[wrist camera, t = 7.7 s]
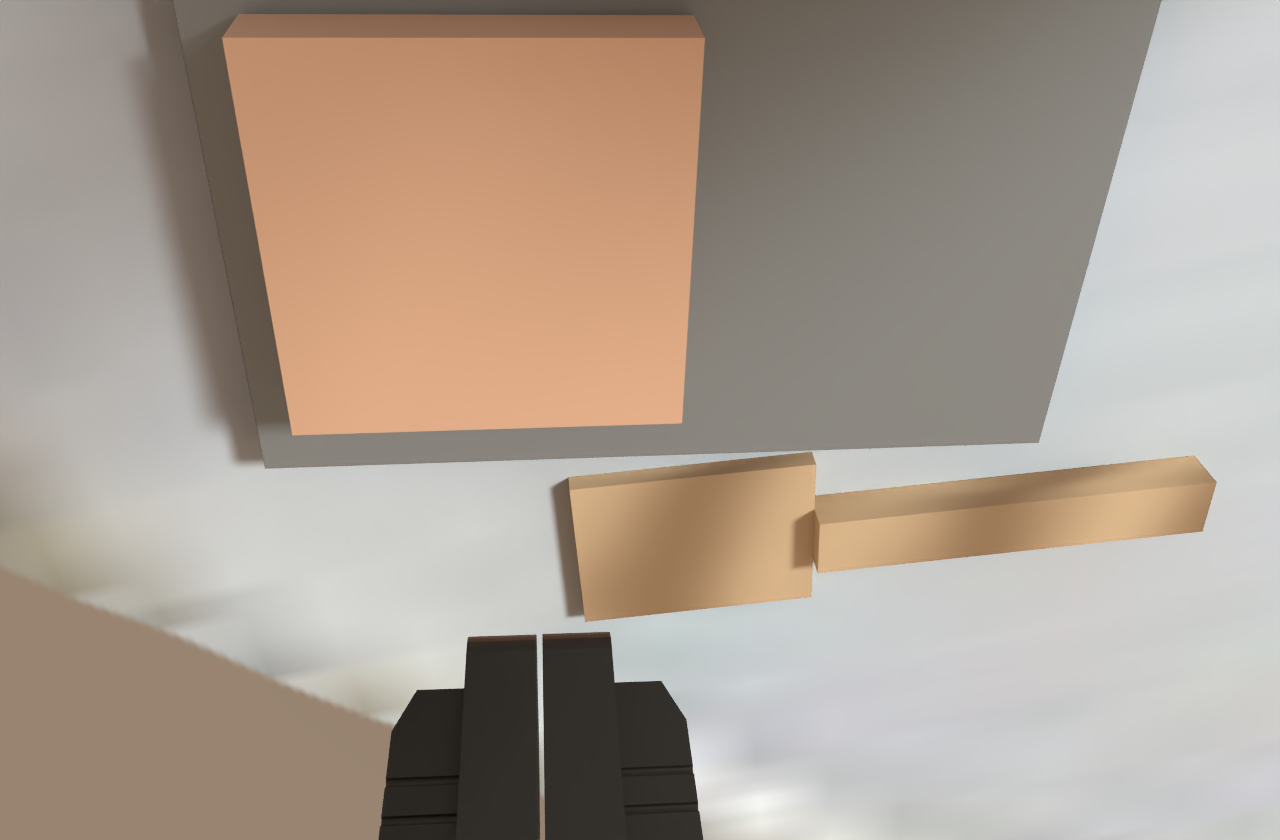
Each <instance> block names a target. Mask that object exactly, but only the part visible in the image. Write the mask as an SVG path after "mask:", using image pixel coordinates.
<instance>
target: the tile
mask: <svg viewBox="0 0 1280 840" xmlns="http://www.w3.org/2000/svg"><path fill="white" fill-rule="evenodd" d="M222 40H223V46H224V52H225V57H226V63H227V69H228V74H229V80H230V85H231V91H232V97H233V102H234V108H235V114H236V119H237V125H238V131H239V136H240V142H241V148H242V153H243V159H244V165H245V170H246V176H247V182H248V187H249V193H250V199H251V204H252V210H253V215H254V221H255V227H256V232H257V238H258V244H259V249H260V255H261V261H262V266H263V272H264V278H265V283H266V289H267V295H268V300H269V306H270V312H271V317H272V323H273V329H274V334H275V340H276V346H277V351H278V357H279V362H280V368H281V374H282V379H283V385H284V391H285V396H286V402H287V408H288V413H289V419H290V425H291V430H292V435H322V434H354V433H387V432H419V431H451V430H484V429H516V428H548V427H581V426H613V425H645V424H678V423H682V416H683V399H684V382H685V365H686V348H687V331H688V314H689V298H690V281H691V264H692V247H693V230H694V213H695V196H696V180H697V163H698V146H699V129H700V112H701V95H702V78H703V61H704V45H705V37H704V35H703V33H702V31H701V29H700V27H699V25H698V22H697V20H696V18H695V16H694V15H428V14H238V15H237V17H236V18H235V20H234V21H233V23H232V24H231V26H230V27H229V28H228V30H227V31H226V33H225V34H224V36H223V37H222Z"/></svg>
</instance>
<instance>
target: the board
mask: <svg viewBox="0 0 1280 840" xmlns="http://www.w3.org/2000/svg"><path fill="white" fill-rule="evenodd" d="M1160 3H1161V0H173V5H174V10H175V15H176V20H177V25H178V30H179V35H180V40H181V45H182V50H183V55H184V60H185V65H186V70H187V75H188V81H189V86H190V91H191V96H192V101H193V106H194V111H195V116H196V121H197V126H198V131H199V136H200V141H201V146H202V151H203V156H204V162H205V167H206V172H207V177H208V182H209V187H210V192H211V197H212V202H213V207H214V212H215V217H216V222H217V227H218V232H219V238H220V243H221V248H222V253H223V258H224V263H225V268H226V273H227V278H228V283H229V288H230V293H231V298H232V303H233V308H234V313H235V319H236V324H237V329H238V334H239V339H240V344H241V349H242V354H243V359H244V364H245V369H246V374H247V379H248V384H249V389H250V395H251V400H252V405H253V410H254V415H255V420H256V425H257V430H258V435H259V440H260V445H261V450H262V455H263V460H264V465H265V468H295V467H325V466H355V465H385V464H415V463H445V462H475V461H504V460H534V459H564V458H594V457H624V456H654V455H684V454H713V453H743V452H773V451H803V450H833V449H863V448H893V447H923V446H952V445H982V444H1012V443H1039V439H1040V436H1041V432H1042V429H1043V425H1044V421H1045V418H1046V414H1047V411H1048V407H1049V403H1050V400H1051V396H1052V393H1053V389H1054V385H1055V382H1056V378H1057V375H1058V371H1059V367H1060V364H1061V360H1062V357H1063V353H1064V349H1065V346H1066V342H1067V338H1068V335H1069V331H1070V328H1071V324H1072V320H1073V317H1074V313H1075V310H1076V306H1077V302H1078V299H1079V295H1080V292H1081V288H1082V284H1083V281H1084V277H1085V274H1086V270H1087V266H1088V263H1089V259H1090V256H1091V252H1092V248H1093V245H1094V241H1095V238H1096V234H1097V230H1098V227H1099V223H1100V220H1101V216H1102V212H1103V209H1104V205H1105V202H1106V198H1107V194H1108V191H1109V187H1110V184H1111V180H1112V176H1113V173H1114V169H1115V166H1116V162H1117V158H1118V155H1119V151H1120V148H1121V144H1122V140H1123V137H1124V133H1125V129H1126V126H1127V122H1128V119H1129V115H1130V111H1131V108H1132V104H1133V101H1134V97H1135V93H1136V90H1137V86H1138V83H1139V79H1140V75H1141V72H1142V68H1143V65H1144V61H1145V57H1146V54H1147V50H1148V47H1149V43H1150V39H1151V36H1152V32H1153V29H1154V25H1155V21H1156V18H1157V14H1158V11H1159V7H1160ZM238 14H428V15H694V16H695V18H696V20H697V22H698V25H699V27H700V29H701V31H702V33H703V35H704V37H705V45H704V61H703V78H702V95H701V112H700V129H699V146H698V163H697V180H696V196H695V213H694V230H693V247H692V264H691V281H690V298H689V314H688V331H687V348H686V365H685V382H684V399H683V416H682V423H678V424H645V425H613V426H581V427H548V428H516V429H484V430H451V431H419V432H387V433H354V434H322V435H292V430H291V425H290V419H289V413H288V408H287V402H286V396H285V391H284V385H283V379H282V374H281V368H280V362H279V357H278V351H277V346H276V340H275V334H274V329H273V323H272V317H271V312H270V306H269V300H268V295H267V289H266V283H265V278H264V272H263V266H262V261H261V255H260V249H259V244H258V238H257V232H256V227H255V221H254V215H253V210H252V204H251V199H250V193H249V187H248V182H247V176H246V170H245V165H244V159H243V153H242V148H241V142H240V136H239V131H238V125H237V119H236V114H235V108H234V102H233V97H232V91H231V85H230V80H229V74H228V69H227V63H226V57H225V52H224V46H223V40H222V37H223V36H224V34H225V33H226V31H227V30H228V28H229V27H230V26H231V24H232V23H233V21H234V20H235V18H236V17H237V15H238Z"/></svg>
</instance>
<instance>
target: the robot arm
mask: <svg viewBox="0 0 1280 840" xmlns="http://www.w3.org/2000/svg"><path fill="white" fill-rule="evenodd" d="M543 707H544V779H545V840H703V835H702V828H701V821H700V814H699V811H698V799H697V792H696V785H695V778H694V774H693V764H692V757H691V750H690V743H689V735H688V728H687V721H686V718H685V717H684V715H683V714H682V712H681V711H680V709H679V708H678V706H677V705H676V703H675V702H674V700H673V699H672V697H671V696H670V694H669V692H668V691H667V689H666V688H665V686H664V685H663V683H662V682H661V681H648V682H620V683H614V670H613V658H612V645H611V636H610V632H593V633H562V634H543ZM381 817H382V824H381V826H380V832H379V840H540V787H539V723H538V679H537V638H536V635H511V636H480V637H468V642H467V653H466V670H465V687H464V689H436V690H417V691H416V693H415V694H414V696H413V698H412V699H411V701H410V703H409V704H408V706H407V707H406V709H405V711H404V712H403V714H402V716H401V717H400V719H399V720H398V722H397V724H396V725H395V727H394V729H393V730H392V733H391V741H390V749H389V759H388V767H387V775H386V787H385V791H384V799H383V807H382V816H381Z"/></svg>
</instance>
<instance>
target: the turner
mask: <svg viewBox="0 0 1280 840" xmlns="http://www.w3.org/2000/svg"><path fill="white" fill-rule="evenodd" d="M815 482H816V463H815V460H814V457H813V455H812V452H806V453H797V454H787V455H778V456H768V457H758V458H749V459H739V460H730V461H720V462H710V463H701V464H691V465H682V466H672V467H662V468H653V469H643V470H634V471H624V472H614V473H605V474H595V475H586V476H576V477H569V491H570V499H571V507H572V516H573V524H574V532H575V541H576V549H577V557H578V566H579V574H580V582H581V591H582V599H583V607H584V616H585V622H588V621H597V620H606V619H615V618H624V617H634V616H643V615H652V614H661V613H670V612H679V611H688V610H698V609H707V608H716V607H725V606H734V605H743V604H752V603H762V602H771V601H780V600H789V599H798V598H807V597H811V592H812V564H813V560H814V563H815V566H816V569H817V572H818V573H823V572H832V571H841V570H850V569H860V568H869V567H878V566H887V565H897V564H906V563H915V562H924V561H933V560H943V559H952V558H961V557H970V556H980V555H989V554H998V553H1007V552H1016V551H1026V550H1035V549H1044V548H1053V547H1063V546H1072V545H1081V544H1090V543H1099V542H1109V541H1118V540H1127V539H1136V538H1146V537H1155V536H1164V535H1173V534H1182V533H1192V532H1201V531H1203V527H1204V524H1205V520H1206V517H1207V514H1208V510H1209V507H1210V503H1211V500H1212V496H1213V493H1214V489H1215V486H1216V483H1217V482H1216V481H1215V480H1214V479H1213V477H1212V476H1211V475H1210V474H1209V472H1208V471H1207V470H1206V469H1205V468H1204V466H1203V465H1202V464H1201V463H1200V462H1199V460H1198V459H1197V458H1196V457H1195V456H1186V457H1176V458H1167V459H1157V460H1148V461H1138V462H1129V463H1119V464H1110V465H1101V466H1091V467H1082V468H1072V469H1063V470H1053V471H1044V472H1035V473H1025V474H1016V475H1006V476H997V477H987V478H978V479H968V480H959V481H950V482H940V483H931V484H921V485H912V486H902V487H893V488H883V489H874V490H865V491H855V492H846V493H836V494H827V495H817V496H815Z"/></svg>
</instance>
